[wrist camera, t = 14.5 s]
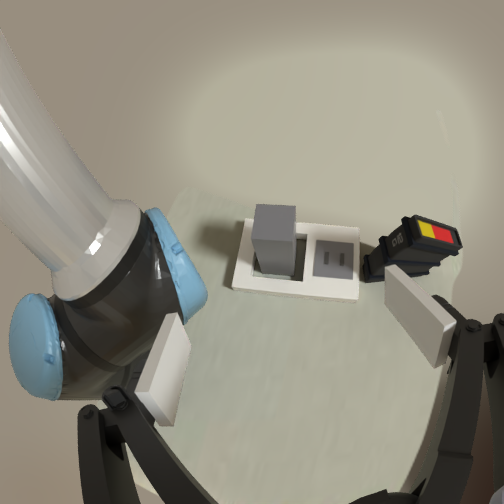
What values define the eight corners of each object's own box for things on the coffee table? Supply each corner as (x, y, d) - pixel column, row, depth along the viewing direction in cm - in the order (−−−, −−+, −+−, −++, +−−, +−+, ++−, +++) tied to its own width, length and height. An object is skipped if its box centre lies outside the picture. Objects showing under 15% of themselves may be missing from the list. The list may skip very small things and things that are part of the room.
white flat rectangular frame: (234, 290, 43) (231, 286, 41) (247, 224, 48) (245, 217, 46) (355, 303, 39) (358, 299, 37) (357, 233, 44) (359, 226, 42)
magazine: (344, 261, 41) (411, 211, 28) (400, 267, 44) (462, 229, 31) (347, 284, 39) (420, 239, 26) (404, 287, 43) (469, 251, 30)
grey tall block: (262, 273, 44) (250, 238, 33) (266, 244, 46) (256, 203, 35) (293, 276, 43) (292, 241, 32) (296, 246, 45) (295, 205, 34)
